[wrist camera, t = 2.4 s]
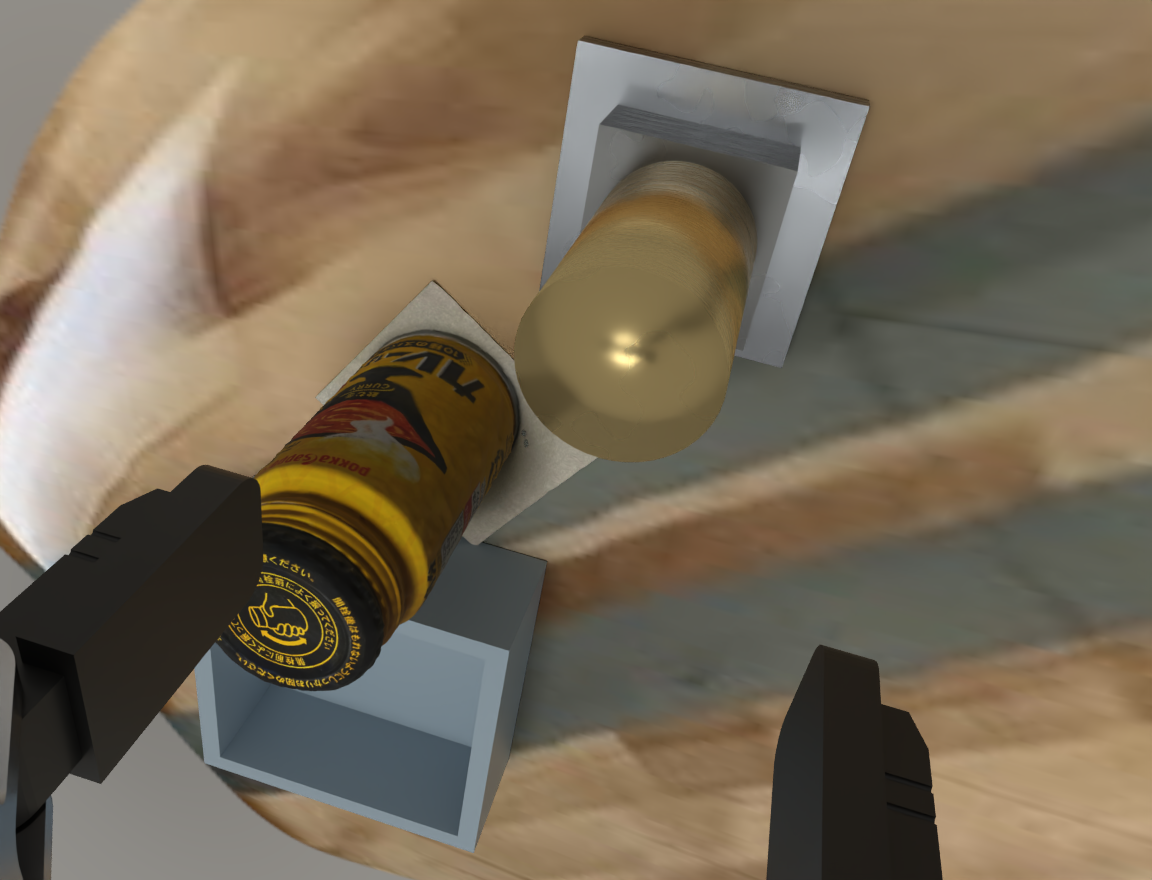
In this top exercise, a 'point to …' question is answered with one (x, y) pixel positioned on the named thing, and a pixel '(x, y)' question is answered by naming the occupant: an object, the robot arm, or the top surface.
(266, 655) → the condiment
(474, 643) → the bin
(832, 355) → the top surface
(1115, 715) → the top surface
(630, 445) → the gold cylindrical piece
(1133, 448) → the top surface
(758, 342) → the stud plate
